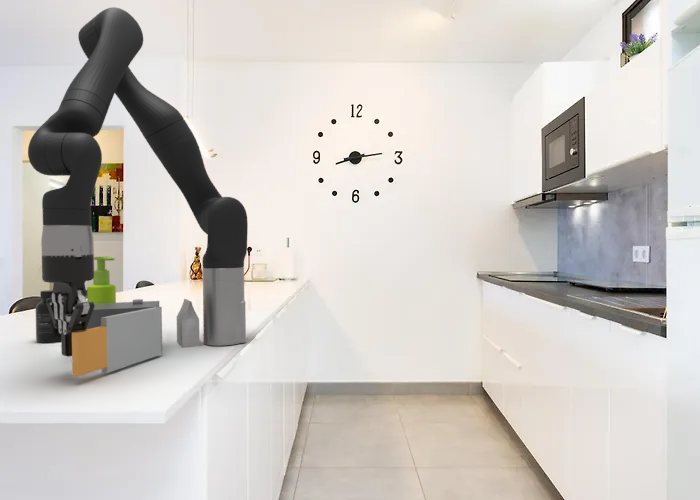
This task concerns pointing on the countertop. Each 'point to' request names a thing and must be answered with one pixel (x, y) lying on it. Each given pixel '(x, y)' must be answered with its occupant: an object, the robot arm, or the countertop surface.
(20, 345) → the countertop surface
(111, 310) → the camera housing
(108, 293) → the soap dispenser
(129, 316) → the side door
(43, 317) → the supplement bottle
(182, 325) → the grey gable top carton
